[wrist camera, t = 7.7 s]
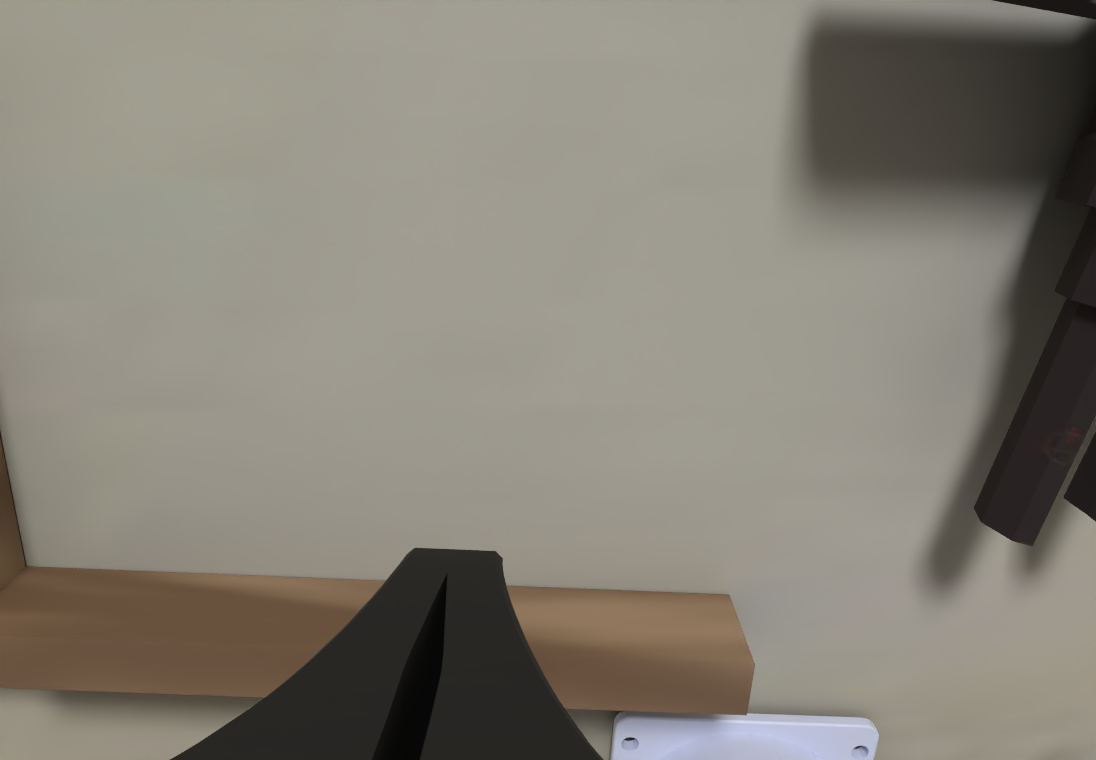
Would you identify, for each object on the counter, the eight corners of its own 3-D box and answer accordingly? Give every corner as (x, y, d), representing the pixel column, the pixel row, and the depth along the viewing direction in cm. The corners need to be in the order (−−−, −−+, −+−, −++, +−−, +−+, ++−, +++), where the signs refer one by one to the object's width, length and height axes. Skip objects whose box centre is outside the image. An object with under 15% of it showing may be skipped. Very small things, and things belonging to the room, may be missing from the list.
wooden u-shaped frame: (722, 640, 24) (746, 715, 21) (-177, 605, 23) (-277, 677, 20) (888, -468, 15) (967, -595, 12) (-531, -569, 15) (-787, -726, 12)
